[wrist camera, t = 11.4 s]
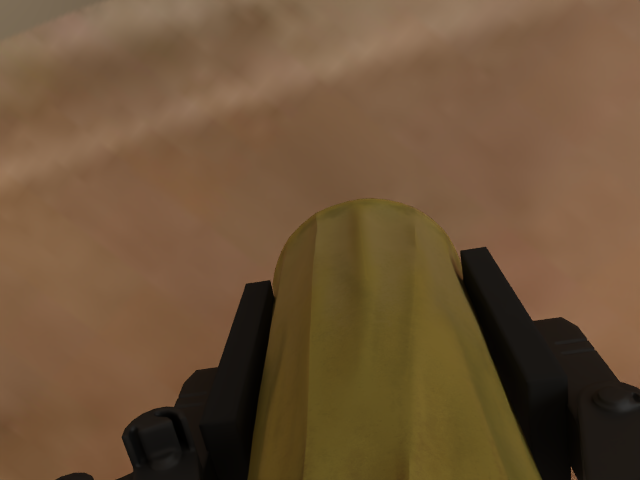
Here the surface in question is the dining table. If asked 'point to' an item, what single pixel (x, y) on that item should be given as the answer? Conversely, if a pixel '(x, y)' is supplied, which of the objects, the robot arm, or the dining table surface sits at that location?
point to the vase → (380, 359)
